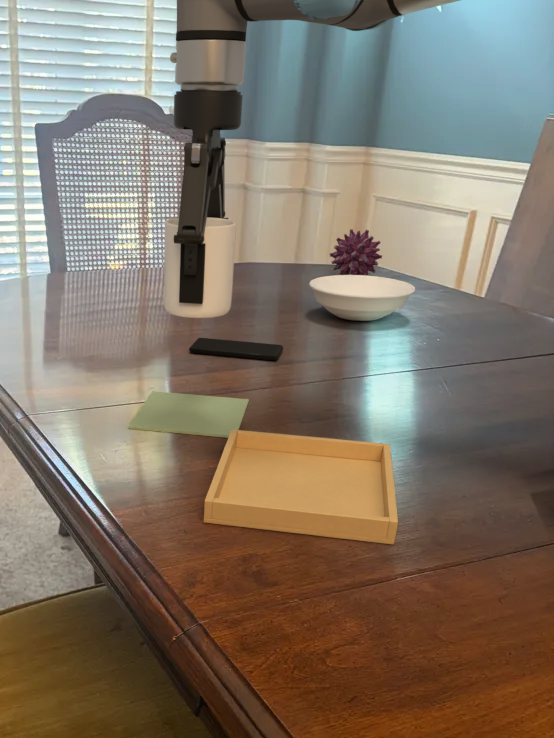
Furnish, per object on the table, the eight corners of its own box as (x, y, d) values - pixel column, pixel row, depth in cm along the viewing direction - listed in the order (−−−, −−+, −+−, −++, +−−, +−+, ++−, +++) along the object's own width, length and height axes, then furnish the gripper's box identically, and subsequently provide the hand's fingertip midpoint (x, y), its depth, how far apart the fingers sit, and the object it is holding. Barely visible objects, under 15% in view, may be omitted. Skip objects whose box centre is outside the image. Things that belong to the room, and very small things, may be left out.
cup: (157, 316, 92) (158, 225, 87) (176, 294, 102) (178, 212, 97) (226, 320, 90) (231, 228, 85) (238, 298, 100) (243, 214, 95)
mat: (248, 401, 109) (249, 399, 109) (235, 438, 97) (236, 435, 97) (152, 393, 111) (152, 391, 111) (128, 428, 100) (128, 425, 99)
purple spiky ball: (354, 294, 177) (313, 275, 183) (383, 284, 183) (343, 266, 189) (369, 243, 169) (326, 225, 175) (399, 235, 176) (357, 218, 182)
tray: (386, 463, 91) (390, 443, 89) (393, 544, 74) (398, 522, 73) (230, 448, 94) (231, 429, 93) (203, 522, 78) (204, 500, 76)
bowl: (346, 336, 139) (351, 300, 136) (286, 311, 155) (289, 279, 152) (431, 325, 146) (438, 290, 143) (366, 303, 162) (370, 271, 159)
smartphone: (277, 356, 125) (188, 348, 129) (277, 361, 125) (187, 353, 129) (284, 344, 130) (198, 337, 134) (283, 349, 131) (198, 341, 135)
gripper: (194, 89, 95) (188, 270, 106) (150, 86, 75) (148, 312, 85) (254, 90, 94) (242, 273, 105) (227, 87, 73) (215, 316, 84)
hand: (200, 291), depth 95 cm, fingers closed on cup, 12 cm apart
